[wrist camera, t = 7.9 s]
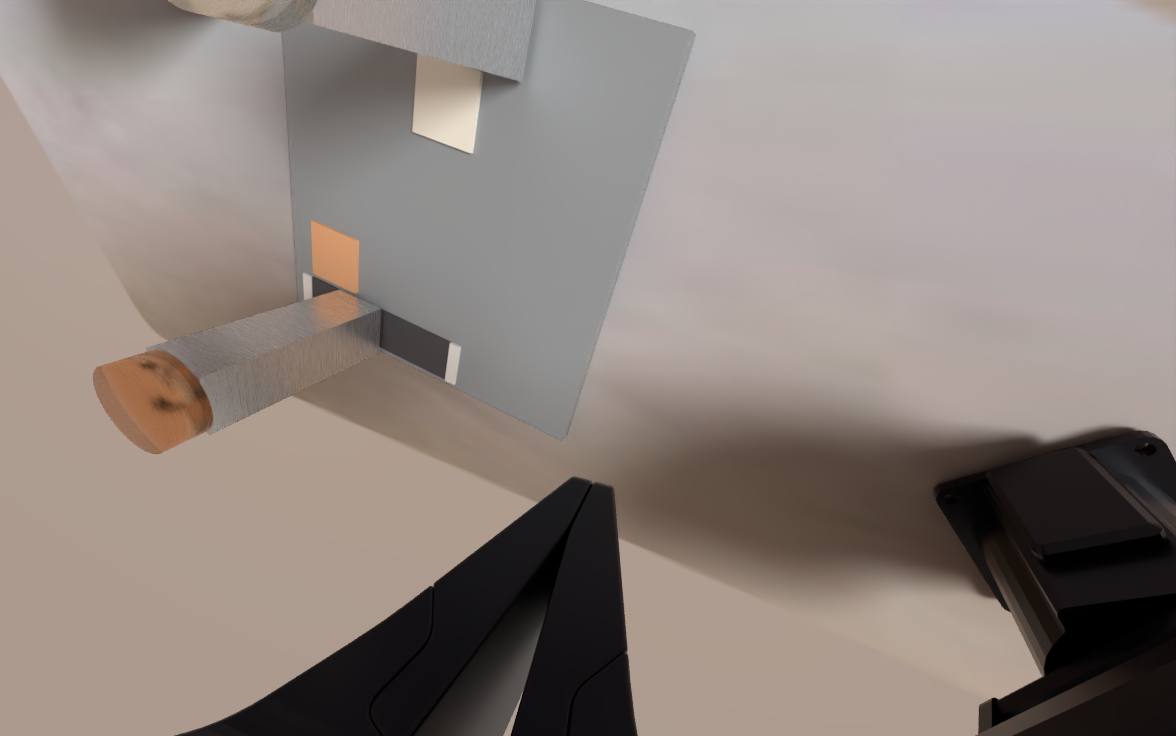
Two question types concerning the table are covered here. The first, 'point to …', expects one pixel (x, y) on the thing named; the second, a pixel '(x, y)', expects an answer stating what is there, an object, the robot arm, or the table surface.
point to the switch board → (481, 193)
